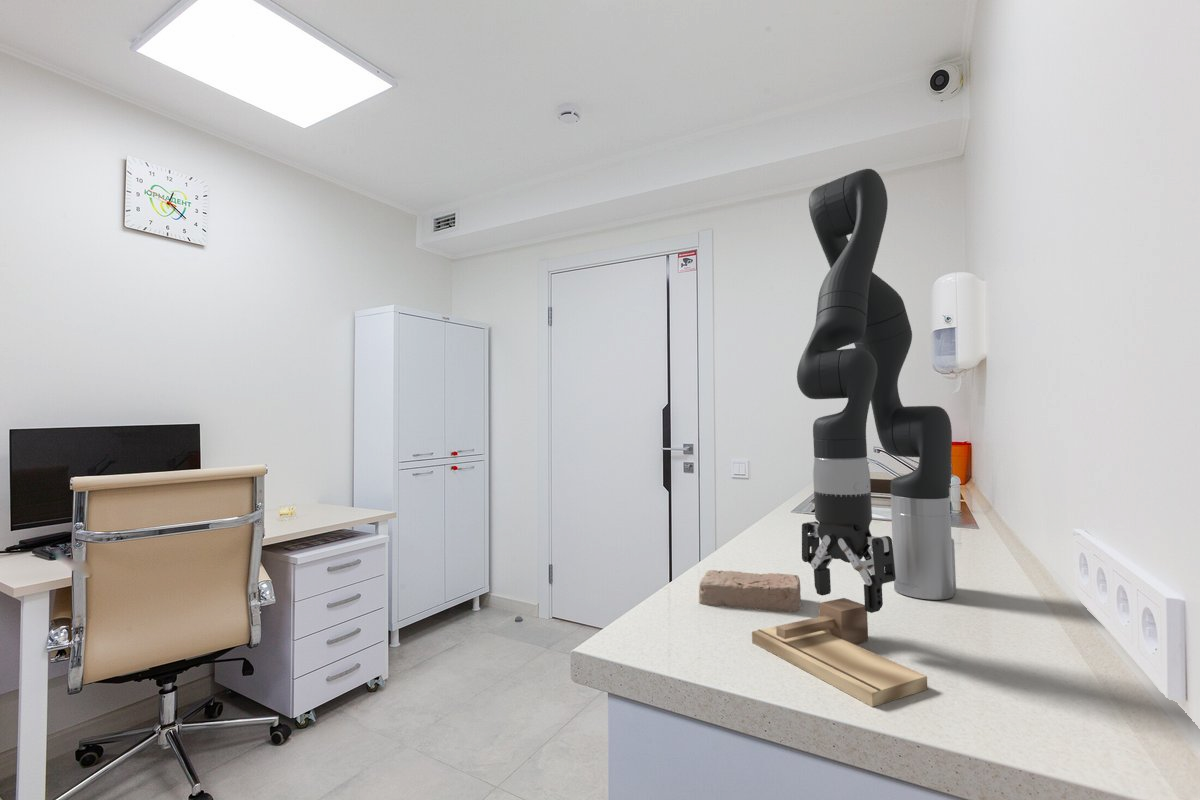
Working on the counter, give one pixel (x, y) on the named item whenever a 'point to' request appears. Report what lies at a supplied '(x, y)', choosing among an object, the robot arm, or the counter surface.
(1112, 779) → the counter surface
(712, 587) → the brick
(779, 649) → the board
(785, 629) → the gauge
